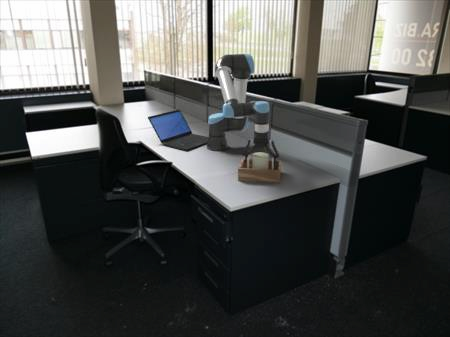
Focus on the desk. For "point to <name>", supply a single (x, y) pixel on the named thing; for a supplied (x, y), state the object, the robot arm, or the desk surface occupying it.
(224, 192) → the desk surface
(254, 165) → the can
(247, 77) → the robot arm
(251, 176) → the walled box
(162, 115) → the laptop
